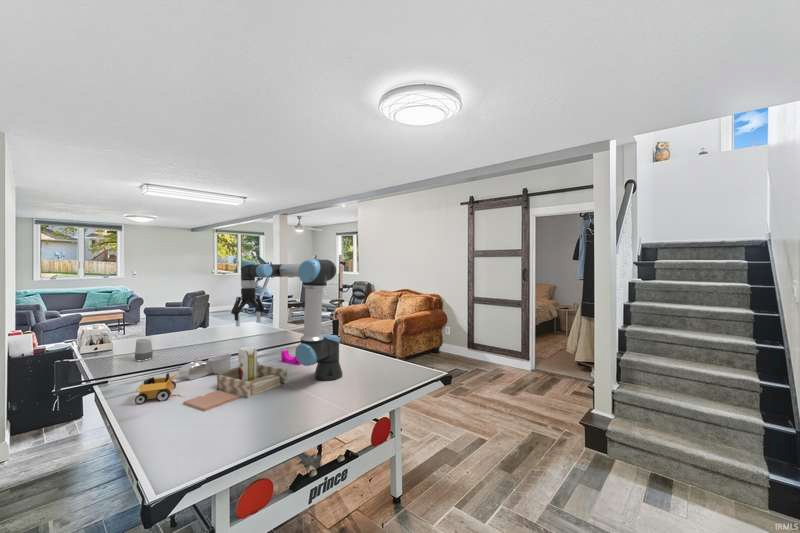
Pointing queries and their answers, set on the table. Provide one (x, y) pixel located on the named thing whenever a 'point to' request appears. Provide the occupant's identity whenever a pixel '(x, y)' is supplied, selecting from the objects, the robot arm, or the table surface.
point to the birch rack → (242, 388)
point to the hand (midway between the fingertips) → (248, 324)
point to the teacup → (220, 363)
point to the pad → (210, 400)
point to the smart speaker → (143, 349)
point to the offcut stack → (264, 384)
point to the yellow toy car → (156, 388)
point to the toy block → (289, 358)
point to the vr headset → (195, 370)
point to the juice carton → (247, 363)
